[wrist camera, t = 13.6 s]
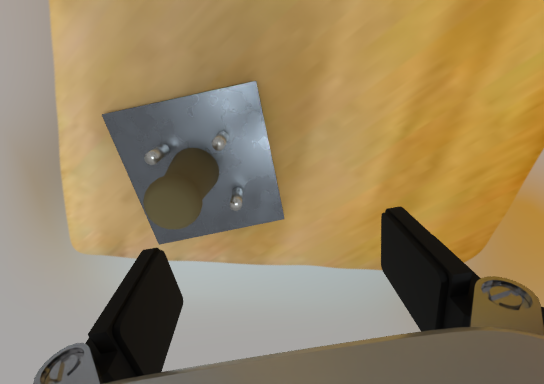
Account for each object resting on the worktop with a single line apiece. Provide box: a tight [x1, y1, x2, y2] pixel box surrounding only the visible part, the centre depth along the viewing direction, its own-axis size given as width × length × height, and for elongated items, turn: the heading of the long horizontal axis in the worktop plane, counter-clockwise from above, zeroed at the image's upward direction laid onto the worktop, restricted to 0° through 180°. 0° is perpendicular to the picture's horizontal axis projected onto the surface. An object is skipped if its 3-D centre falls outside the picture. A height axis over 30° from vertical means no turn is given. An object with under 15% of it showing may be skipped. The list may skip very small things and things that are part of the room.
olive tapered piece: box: [143, 148, 219, 229], centre depth 28 cm, size 6×6×11 cm
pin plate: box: [102, 81, 284, 244], centre depth 32 cm, size 18×18×5 cm
